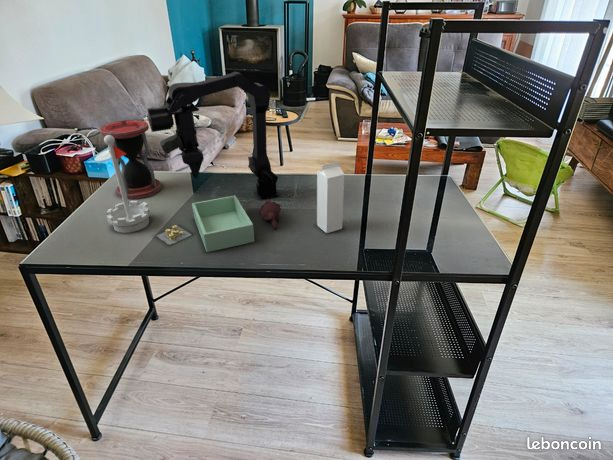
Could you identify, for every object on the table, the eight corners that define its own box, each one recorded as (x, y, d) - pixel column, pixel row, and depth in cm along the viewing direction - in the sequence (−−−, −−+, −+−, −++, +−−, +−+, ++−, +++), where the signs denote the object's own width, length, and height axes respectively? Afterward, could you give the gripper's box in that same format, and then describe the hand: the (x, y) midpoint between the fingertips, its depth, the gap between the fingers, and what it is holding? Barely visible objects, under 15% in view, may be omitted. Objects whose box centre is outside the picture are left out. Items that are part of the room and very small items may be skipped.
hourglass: (169, 183, 163) (156, 120, 150) (146, 201, 149) (130, 134, 136) (133, 179, 166) (117, 118, 153) (108, 197, 152) (89, 131, 140)
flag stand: (101, 230, 131) (72, 139, 116) (129, 212, 142) (106, 127, 127) (134, 237, 128) (109, 144, 112) (160, 218, 138) (141, 130, 123)
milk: (342, 229, 131) (345, 164, 119) (326, 233, 128) (327, 168, 117) (332, 220, 135) (334, 157, 124) (316, 225, 133) (317, 161, 121)
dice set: (171, 241, 125) (170, 236, 124) (162, 235, 128) (161, 230, 127) (185, 235, 128) (184, 230, 127) (176, 229, 131) (175, 224, 130)
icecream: (253, 194, 138) (259, 219, 126) (274, 187, 138) (281, 211, 126) (259, 210, 142) (265, 236, 130) (280, 204, 142) (287, 228, 131)
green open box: (237, 211, 142) (235, 195, 139) (254, 241, 125) (253, 224, 121) (194, 219, 137) (191, 203, 134) (206, 252, 120) (203, 234, 117)
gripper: (157, 121, 133) (166, 166, 141) (160, 139, 118) (171, 188, 126) (191, 117, 136) (199, 161, 144) (199, 133, 121) (207, 182, 129)
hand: (193, 172), depth 136 cm, fingers open, 9 cm apart
